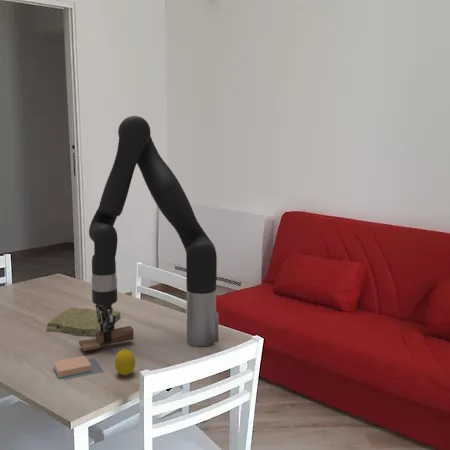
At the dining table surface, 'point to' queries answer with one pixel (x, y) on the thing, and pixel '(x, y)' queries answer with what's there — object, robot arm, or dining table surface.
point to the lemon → (125, 362)
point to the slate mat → (95, 369)
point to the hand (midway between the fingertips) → (106, 340)
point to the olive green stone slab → (77, 322)
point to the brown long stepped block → (117, 335)
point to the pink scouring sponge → (72, 366)
